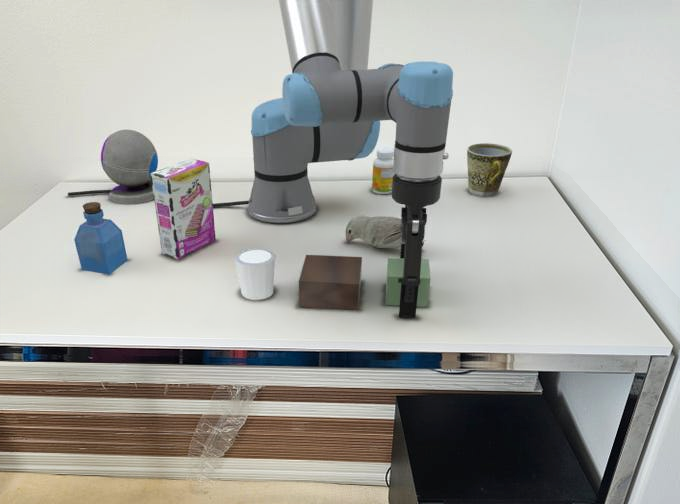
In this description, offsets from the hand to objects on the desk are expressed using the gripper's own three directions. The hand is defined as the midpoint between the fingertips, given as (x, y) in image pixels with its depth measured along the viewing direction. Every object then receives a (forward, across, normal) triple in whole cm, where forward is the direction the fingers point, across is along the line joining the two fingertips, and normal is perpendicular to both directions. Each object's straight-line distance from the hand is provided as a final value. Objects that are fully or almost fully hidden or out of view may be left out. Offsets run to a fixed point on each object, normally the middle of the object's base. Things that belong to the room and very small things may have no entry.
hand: (406, 296), depth 107 cm
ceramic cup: (0, +52, -19) cm, 55 cm away
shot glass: (0, -1, +26) cm, 26 cm away
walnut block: (0, 0, +13) cm, 13 cm away
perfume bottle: (0, +7, +58) cm, 58 cm away
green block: (0, 0, 0) cm, 0 cm away
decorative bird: (0, +19, +4) cm, 19 cm away
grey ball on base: (0, +44, +65) cm, 78 cm away
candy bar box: (0, +16, +43) cm, 46 cm away
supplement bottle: (0, +52, +5) cm, 52 cm away
